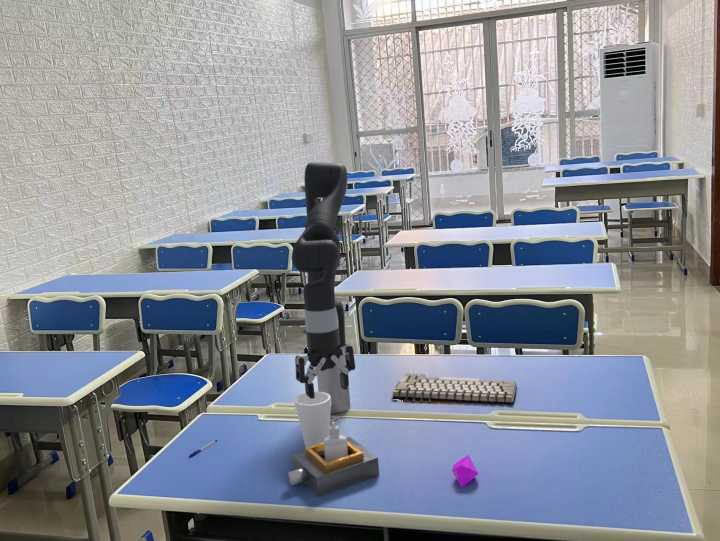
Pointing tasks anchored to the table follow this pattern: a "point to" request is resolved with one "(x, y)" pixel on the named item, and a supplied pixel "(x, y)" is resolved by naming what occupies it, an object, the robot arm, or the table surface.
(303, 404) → the foam cup
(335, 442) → the eye dropper bottle
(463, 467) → the crystal
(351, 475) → the gearbox housing
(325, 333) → the robot arm
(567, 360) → the table surface
